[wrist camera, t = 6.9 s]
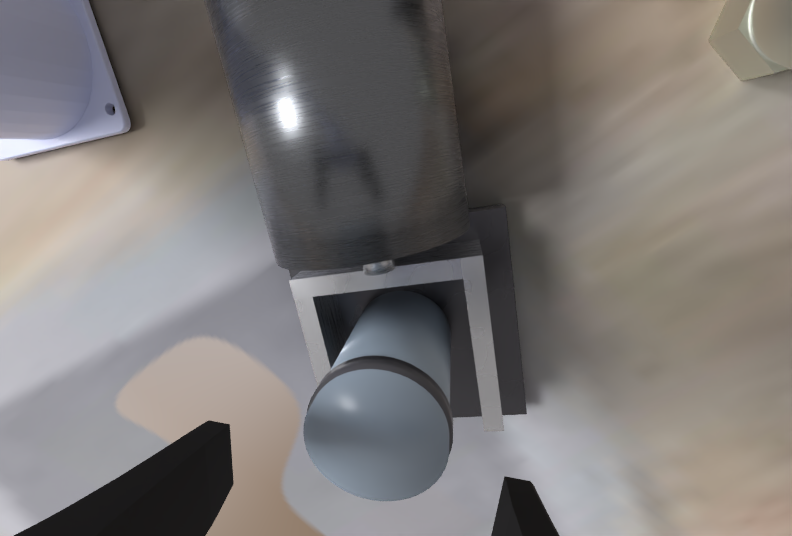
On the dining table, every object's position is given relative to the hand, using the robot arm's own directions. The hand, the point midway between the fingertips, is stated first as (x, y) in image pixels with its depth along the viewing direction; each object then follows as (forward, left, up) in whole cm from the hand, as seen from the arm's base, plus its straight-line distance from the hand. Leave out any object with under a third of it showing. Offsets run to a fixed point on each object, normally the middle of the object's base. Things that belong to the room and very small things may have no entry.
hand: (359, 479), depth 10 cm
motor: (-5, 0, -9) cm, 10 cm away
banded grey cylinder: (0, 0, -9) cm, 9 cm away
